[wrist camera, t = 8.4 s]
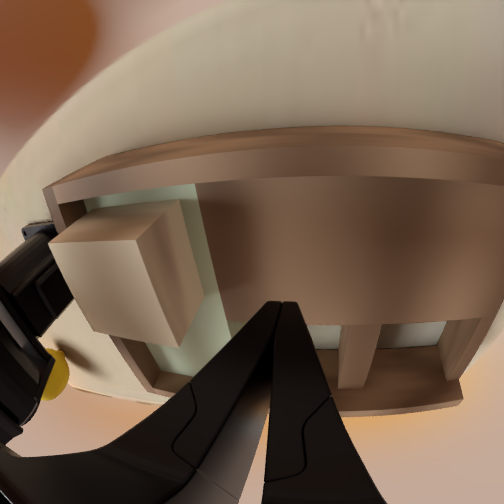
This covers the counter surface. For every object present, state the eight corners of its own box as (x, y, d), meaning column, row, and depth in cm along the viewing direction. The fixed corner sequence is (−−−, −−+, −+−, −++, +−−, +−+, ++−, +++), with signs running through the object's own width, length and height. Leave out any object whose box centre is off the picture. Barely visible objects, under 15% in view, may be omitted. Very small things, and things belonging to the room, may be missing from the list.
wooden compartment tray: (171, 344, 20) (147, 391, 16) (103, 157, 13) (42, 189, 9) (444, 351, 15) (458, 405, 12) (503, 143, 8) (563, 174, 4)
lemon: (78, 370, 30) (50, 414, 23) (47, 345, 29) (17, 387, 22) (81, 358, 27) (48, 408, 20) (46, 329, 26) (11, 376, 19)
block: (124, 290, 13) (93, 331, 11) (93, 208, 11) (47, 243, 8) (204, 296, 12) (179, 348, 10) (179, 198, 10) (135, 239, 7)
